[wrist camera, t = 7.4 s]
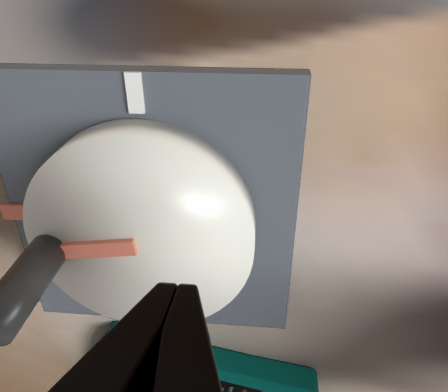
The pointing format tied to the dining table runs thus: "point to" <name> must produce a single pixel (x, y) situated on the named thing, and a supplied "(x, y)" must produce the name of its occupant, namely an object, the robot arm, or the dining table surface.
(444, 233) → the dining table surface
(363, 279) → the dining table surface
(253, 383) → the digital multimeter
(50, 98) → the base plate
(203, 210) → the dial
